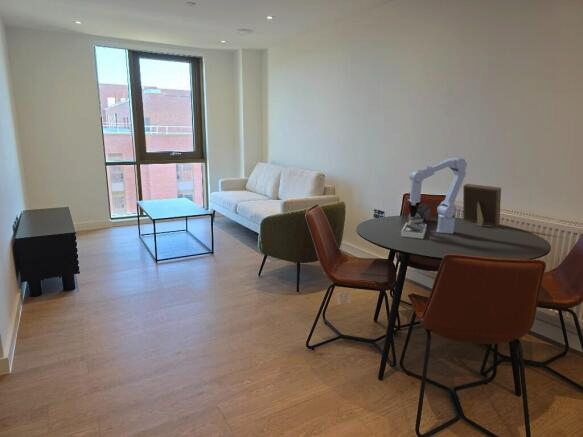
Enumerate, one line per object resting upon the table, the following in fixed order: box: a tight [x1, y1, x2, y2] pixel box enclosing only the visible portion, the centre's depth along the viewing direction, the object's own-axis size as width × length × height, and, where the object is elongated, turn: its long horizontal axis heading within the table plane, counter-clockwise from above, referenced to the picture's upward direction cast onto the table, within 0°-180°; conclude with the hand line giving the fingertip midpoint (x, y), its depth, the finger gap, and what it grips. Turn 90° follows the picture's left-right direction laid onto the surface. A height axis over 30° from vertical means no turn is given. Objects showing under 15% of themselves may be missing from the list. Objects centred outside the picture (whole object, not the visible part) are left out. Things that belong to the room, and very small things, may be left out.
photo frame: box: [462, 183, 502, 228], centre depth 256 cm, size 15×22×25 cm
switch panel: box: [400, 221, 427, 240], centre depth 233 cm, size 12×24×4 cm, turn 158°
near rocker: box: [406, 220, 422, 232], centre depth 227 cm, size 8×9×2 cm
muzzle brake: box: [407, 204, 431, 222], centre depth 258 cm, size 10×28×10 cm, turn 151°
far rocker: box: [409, 219, 424, 225], centre depth 237 cm, size 8×9×2 cm
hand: (413, 215), depth 231 cm, fingers open, 7 cm apart
